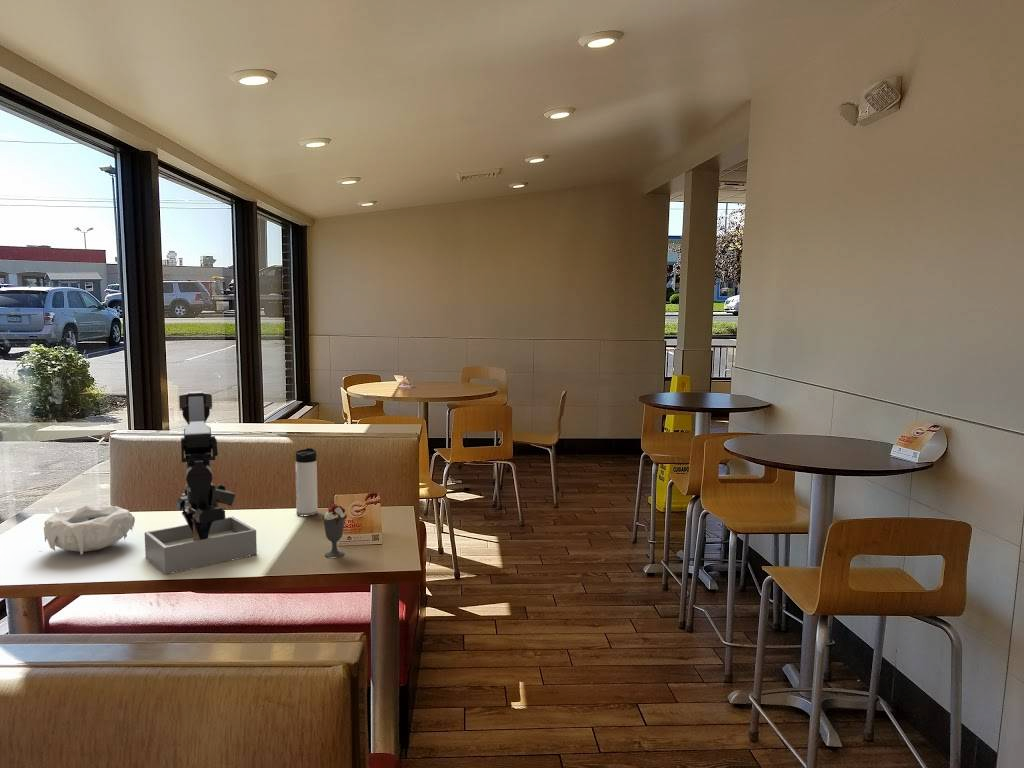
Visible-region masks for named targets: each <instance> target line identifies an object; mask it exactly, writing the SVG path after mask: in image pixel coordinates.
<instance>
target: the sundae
mask: <svg viewBox="0 0 1024 768" xmlns="http://www.w3.org/2000/svg"><path fill="white" fill-rule="evenodd" d="M329 501H330V503H329V507H328V508H327V511H326V512H325V514H324V515H322V516H320V519H321V520H322V521H323V524H324V525H323V526H324V531H325V532H324V533H325V537H326V538H327V540H328V541H330V542H331V549H330V550H329V551H327V552H326V553H325V554H324V557H325V556H327V557H338V558H341V557H340V556H342V557H343V556H345V552H343V551H339V550H338V546H337V545H338V544H337V543H338V542H339V541H340V540H341V539H342V537H343V533H344V525H345V521H346V519H347V518H348V514H347V513H345V512H346V509H345V508H344V507H342V506H341V505H338V504H336V503H334V502H333V499H330V500H329ZM331 504H332V505H331ZM327 557H326V558H327Z"/></svg>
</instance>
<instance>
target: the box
mask: <svg viewBox="0 0 1024 768" xmlns="http://www.w3.org/2000/svg"><path fill="white" fill-rule="evenodd" d="M257 546H258V545H257V529H256V528H253V527H251V526H250V525H249V524H246V523H245V522H244V521H241V520H239V519H238V518H236V517H234V516H228V517H225V519H223V520H217V521H214V522H213V523H212V524H211V527H210V531H209V534H208V538H207V539H202V540H197V541H193V533H192V531H191V529H190V527H189V525H188V524H182V525H178V526H171V527H166V528H161V529H154V530H149V531H144V547H145V548H144V552H145V558H146V559H147V560H148V561H149V562H150V563H151V564H153V565H154V566H155V567H156V568H157V569H158V570H159V571H160V570H161V571H160V572H162V574H164V575H165V574H166V575H169V574H168V573H171V574H173V573H172V572H175V573H177V572H176V571H180V572H182V571H181V570H184V571H188V570H187V569H189V570H192V569H191V568H193V569H197V568H196V567H198V568H203V567H206V566H211V565H216V564H220V562H221V563H224V561H226V562H228V560H230V561H233V560H232V559H235V560H238V559H237V558H239V559H242V558H241V557H244V558H247V557H246V556H248V557H250V556H249V555H253V556H255V555H254V554H257V553H258V550H257V549H258V548H257ZM257 555H258V554H257ZM202 566H203V567H202Z"/></svg>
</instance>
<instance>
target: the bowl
mask: <svg viewBox="0 0 1024 768" xmlns="http://www.w3.org/2000/svg"><path fill="white" fill-rule="evenodd" d="M135 521H136V519H135V516H133V514H132V513H131V512H130V510H128V509H125V508H122V507H119V506H117V505H115V506H114V505H109V504H103V505H99V506H97V505H96V506H94V505H93V506H92V505H83V506H79V507H76V508H74V509H70V510H68V511H67V510H66V511H60V512H55V513H54V514H52V515H51V516H50V517H49V518H48V519H45V521H44V524H43V525H44V526H43V535H44V543H46V542H47V543H48V545H49V548H50V549H51V550H53V551H54V552H56V547H57V548H59V549H62V550H64V551H71V552H79V554H80V555H81V556H82V555H83V554H84V552H91V551H92V552H93V551H98V550H102V549H105V548H107V547H110V546H112V545H114V544H116V543H117V542H119V541H120V540H122V538H123V540H125V539H126V538H127V537H128V532H129V531H130V530H131V531H133V529H134V527H135Z"/></svg>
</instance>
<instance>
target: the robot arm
mask: <svg viewBox="0 0 1024 768" xmlns="http://www.w3.org/2000/svg"><path fill="white" fill-rule="evenodd" d="M178 401H179V405H178V407H179V408H178V409H179V411H182V412H181V413H182V418H183V419H184V421H185V422H186V423H187V425H186V427H184V428H183V436H181V437H180V447H181V448H180V449H181V451H180V452H181V463H185V470H186V471H185V472H186V474H185V475H186V477H185V480H186V484H184V487H183V488H184V493H181V494H182V496H179V497H178V498H177V499H176V500H175V508H176V509H177V510H179V511H181V510H182V511H181V515H182V516H183V518H184V520H185V521H186V523H187V525H189V527H190V529H191V531H192V533H193V525H194V527H195V530H196V532H197V535H198V537H199V539H200V540H202V539H207V538H208V534H209V531H210V527H211V524H212V523H213V522H214V521H217V520H223V519H225V518H226V510H224V509H223V508H222V507H220V506H219V504H223V505H227V506H229V507H232V506H233V505H234V501H235V498H236V496H237V494H236V493H234V492H232V491H231V490H227V489H226V486H225V485H224V484H219V483H218V484H216V485H215V484H213V483H212V482H213V471H212V462H211V461H216V457H218V455H219V453H218V439H217V438H216V436H215V435H214V434H213V435H212V428H211V427H210V425H207V424H206V422H207V421H208V418H210V410H212V409H213V395H212V394H211V393H206V392H204V391H188V392H185V393H183V394H182V395H178ZM193 514H195V518H193Z"/></svg>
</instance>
